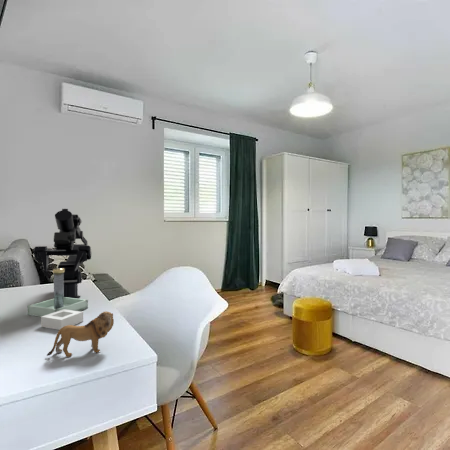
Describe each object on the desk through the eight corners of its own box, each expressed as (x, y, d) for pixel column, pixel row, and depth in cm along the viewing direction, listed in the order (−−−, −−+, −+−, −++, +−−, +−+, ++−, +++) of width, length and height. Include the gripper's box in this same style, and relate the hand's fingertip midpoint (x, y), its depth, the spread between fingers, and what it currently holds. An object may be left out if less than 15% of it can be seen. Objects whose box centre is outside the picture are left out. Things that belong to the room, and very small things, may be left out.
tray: (60, 304, 111) (60, 296, 111) (87, 308, 107) (87, 299, 107) (27, 314, 99) (27, 305, 99) (56, 319, 94) (56, 309, 94)
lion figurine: (112, 342, 77) (112, 308, 77) (115, 350, 73) (115, 313, 72) (47, 353, 70) (47, 316, 70) (45, 363, 66) (45, 323, 66)
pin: (60, 306, 105) (60, 267, 105) (66, 308, 104) (66, 268, 103) (50, 309, 102) (50, 269, 102) (57, 311, 100) (57, 270, 100)
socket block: (63, 318, 95) (63, 309, 95) (83, 321, 93) (83, 311, 93) (41, 326, 88) (41, 316, 88) (61, 330, 85) (61, 319, 85)
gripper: (34, 224, 107) (24, 258, 97) (90, 224, 113) (86, 256, 102) (40, 244, 114) (31, 277, 104) (92, 243, 120) (89, 275, 110)
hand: (60, 271), depth 105 cm, fingers open, 9 cm apart
